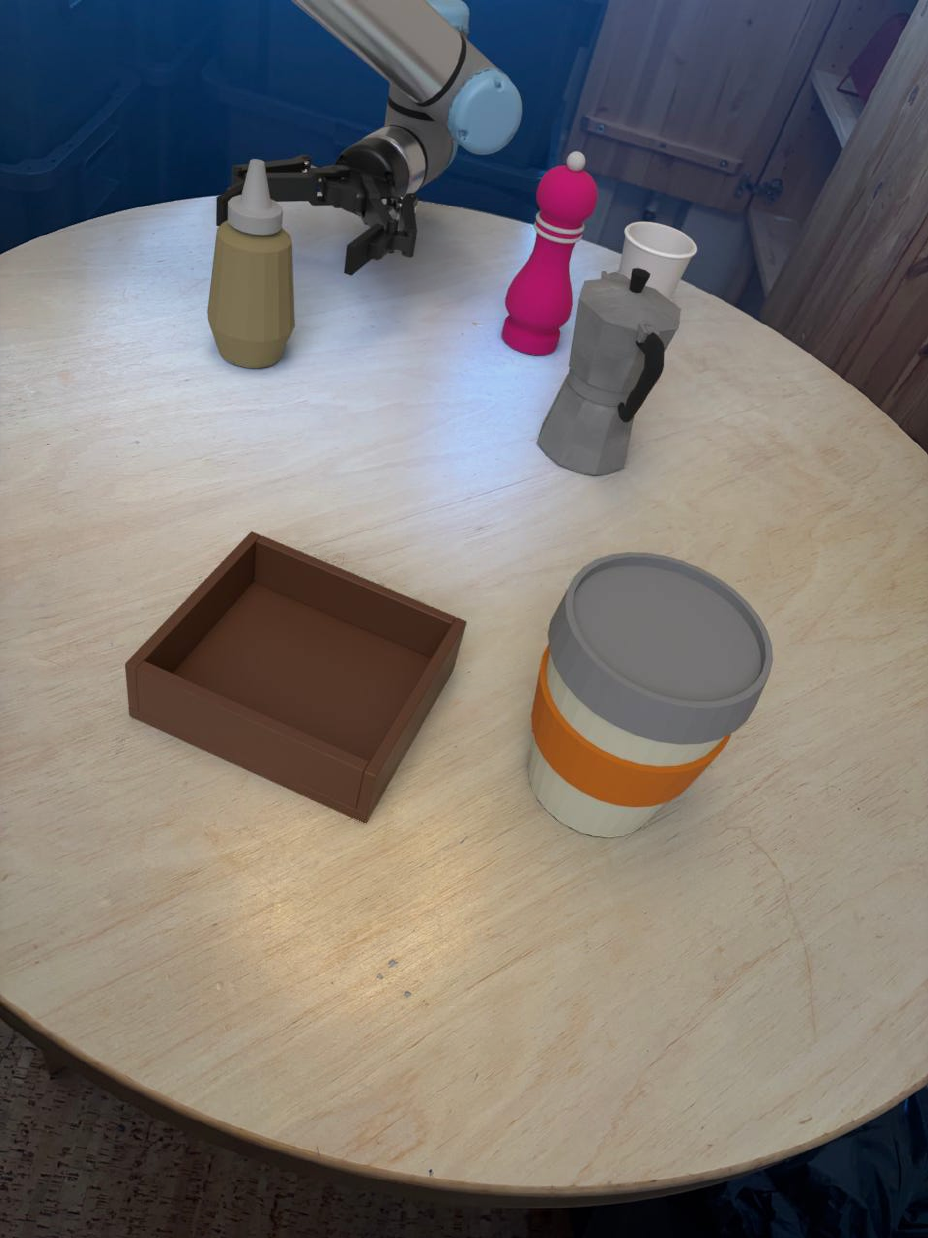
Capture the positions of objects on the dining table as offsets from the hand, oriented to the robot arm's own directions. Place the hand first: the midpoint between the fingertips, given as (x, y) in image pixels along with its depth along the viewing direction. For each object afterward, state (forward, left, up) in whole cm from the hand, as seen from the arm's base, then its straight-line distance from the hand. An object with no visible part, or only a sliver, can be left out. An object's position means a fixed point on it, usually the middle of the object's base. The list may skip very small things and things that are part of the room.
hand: (283, 236), depth 89 cm
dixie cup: (+39, +18, -10) cm, 44 cm away
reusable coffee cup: (+29, -50, -10) cm, 59 cm away
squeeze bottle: (-2, -5, -10) cm, 11 cm away
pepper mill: (+26, +8, -10) cm, 29 cm away
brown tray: (+9, -46, -10) cm, 48 cm away
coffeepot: (+31, -12, -10) cm, 35 cm away
